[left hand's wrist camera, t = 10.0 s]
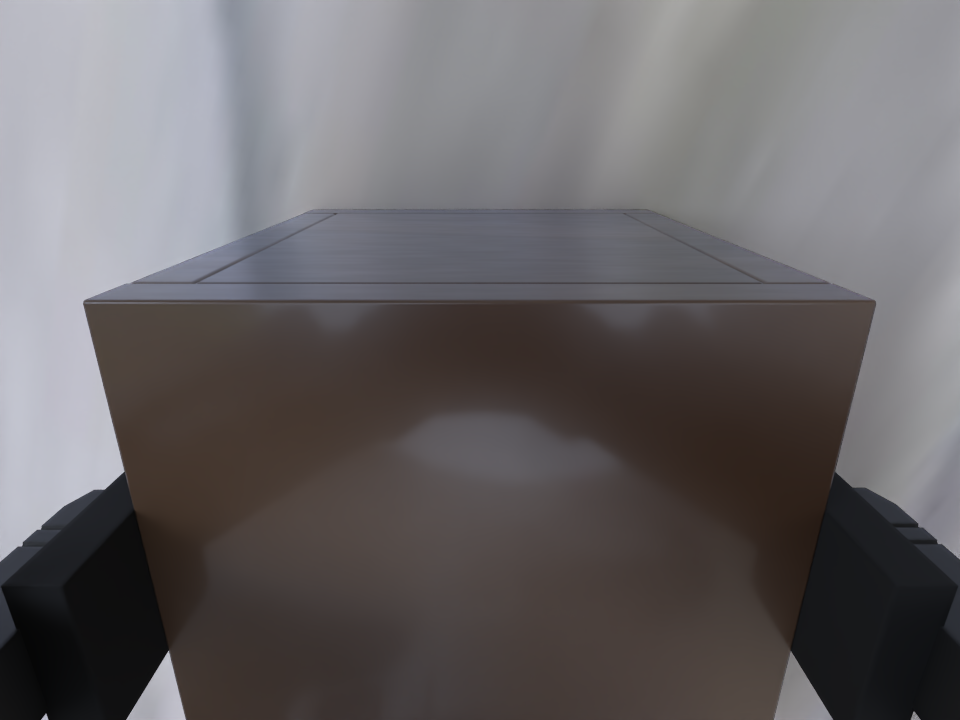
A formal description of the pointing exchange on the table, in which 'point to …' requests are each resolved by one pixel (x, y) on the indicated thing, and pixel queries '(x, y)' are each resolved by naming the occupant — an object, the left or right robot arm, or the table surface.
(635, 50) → the table surface
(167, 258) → the table surface
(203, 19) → the table surface
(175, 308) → the cabinet
